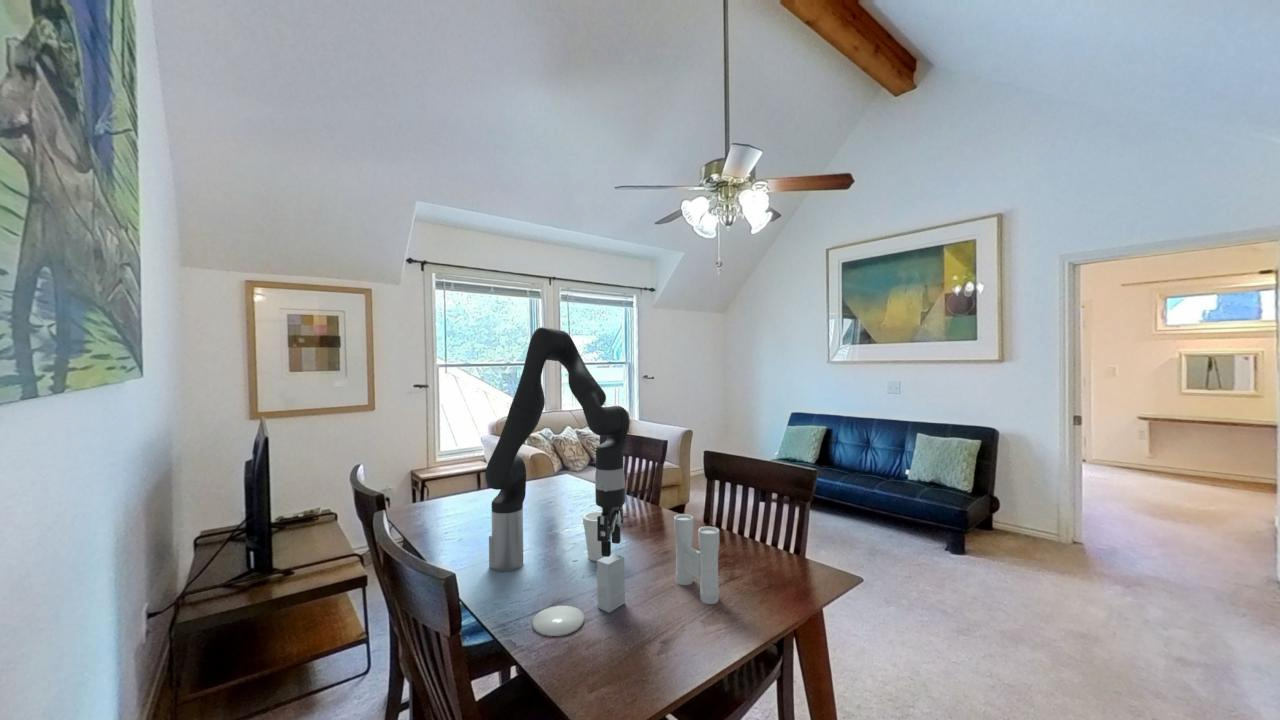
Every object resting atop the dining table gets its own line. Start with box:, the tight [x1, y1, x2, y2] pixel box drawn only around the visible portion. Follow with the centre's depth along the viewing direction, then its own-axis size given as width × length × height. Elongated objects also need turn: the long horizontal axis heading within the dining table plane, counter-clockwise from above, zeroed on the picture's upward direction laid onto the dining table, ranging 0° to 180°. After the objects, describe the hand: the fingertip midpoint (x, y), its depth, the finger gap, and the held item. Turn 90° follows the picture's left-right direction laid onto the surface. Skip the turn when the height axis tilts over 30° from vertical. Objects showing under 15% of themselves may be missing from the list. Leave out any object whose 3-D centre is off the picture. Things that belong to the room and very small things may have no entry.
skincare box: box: [596, 552, 626, 613], centre depth 120 cm, size 6×4×12 cm
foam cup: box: [582, 510, 610, 562], centre depth 150 cm, size 10×9×13 cm
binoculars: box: [673, 513, 720, 605], centre depth 128 cm, size 17×5×18 cm, turn 28°
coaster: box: [532, 605, 585, 637], centre depth 113 cm, size 12×12×1 cm
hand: (611, 549), depth 120 cm, fingers open, 8 cm apart
